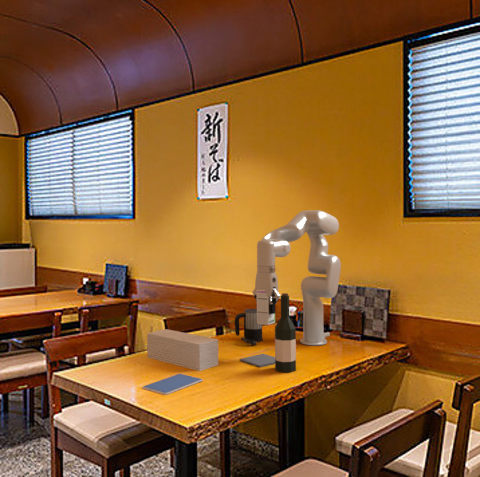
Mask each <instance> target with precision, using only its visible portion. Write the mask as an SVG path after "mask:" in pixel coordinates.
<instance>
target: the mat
mask: <svg viewBox="0 0 480 477" xmlns="http://www.w3.org/2000/svg"><path fill="white" fill-rule="evenodd" d="M239 361H240V362H242V363H246V364H248V365H250V366H251V365H252V366H254V365H255V366H254V367H257V368H264V367H268V366H271V365H275V356H272V355H268V354H266V353H259V354H256V355H251V356H247V357H242V358H239Z"/></svg>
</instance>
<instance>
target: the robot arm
mask: <svg viewBox="0 0 480 477" xmlns="http://www.w3.org/2000/svg"><path fill="white" fill-rule="evenodd" d="M339 227H340V223H339V220H338V219H337V218H336V217H335V216H333V215H332V214H329V213H327V212H326V211H323V210H318V209H316V210H315V209H314V210H313V209H312V210H311V209H310V210H308V209H306V210H301V211H299V212H298V213H297V214H296V215H295V216H294V217H293V218H291V220H290V221H289V222H287V224H285V225H283V226H280V227H278V228H276V229H273V230H271V231H269V232H268V233H267V234H265V235H264V236H263V238H261V239H260V240H258V241H257V244H256V258H257V259H256V276H255V283H254V289H253V290H252V294H253V297H254V299H255V303H257V290H259V289H263V290H265V292H266V295H267V297H268V298H269V302H270V304H269V314H275V315H276V305H277V302H278V301H279V299H281V294H280V293H279V282H278V281H279V279H278V276H277V275H278V274H277V273H276V271H277V269H276V258H284V257H287V256H288V255H289V254H290V252H291V244H290V243H292V242H294V241H295V242H296V241H298V240H299V239H301V238H302V236H304V234H305V233H306V234H307V237H308V239H309V242H310V246H309V247H310V248H309V255H308V260H307V270H308V272H309V273H310V274H313V276H306V277H304V278H303V279H302V281H301V282H300V283H301V284H300V289H301V295H302V303H303V307H302V308H303V310H302V311H303V312H302V313H303V318H302V320H303V324H302V325H303V327H302V328H303V330H302V331H303V336H302V338H300V341H299V342H300V344H303V345H305V346H322V345H326V344H327V343H328V340H327V338H328V337H329V336H331V335H330V332H329V331H327V332H324V303H323V301H322V299H321V298H324V299H332V298H333V299H334V297H336V295H337V293H338V289H339V283H340V277H341V269H342V265H341V264H342V263H341V259H340V258H339V257H338V256H337V255H335V254H328V252H329V242H328V241H327V239H326V237H325V236H328V235H329V236H334V235H335V234H337V233H338V231H339V229H340V228H339ZM314 275H322V276H314ZM323 275H325V276H326V277H325V276H323ZM272 299H273V300H272Z"/></svg>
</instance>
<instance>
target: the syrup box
mask: <svg viewBox="0 0 480 477" xmlns="http://www.w3.org/2000/svg"><path fill="white" fill-rule="evenodd" d="M272 300H273V299H272ZM269 304H270V302H269V298H268V297H267V295H266V292H265V290H263V289H259V290H257V302H256V309H257V324H262V326H263V325H264V326H270V325H273V324H276V313H275V314H269Z"/></svg>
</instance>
